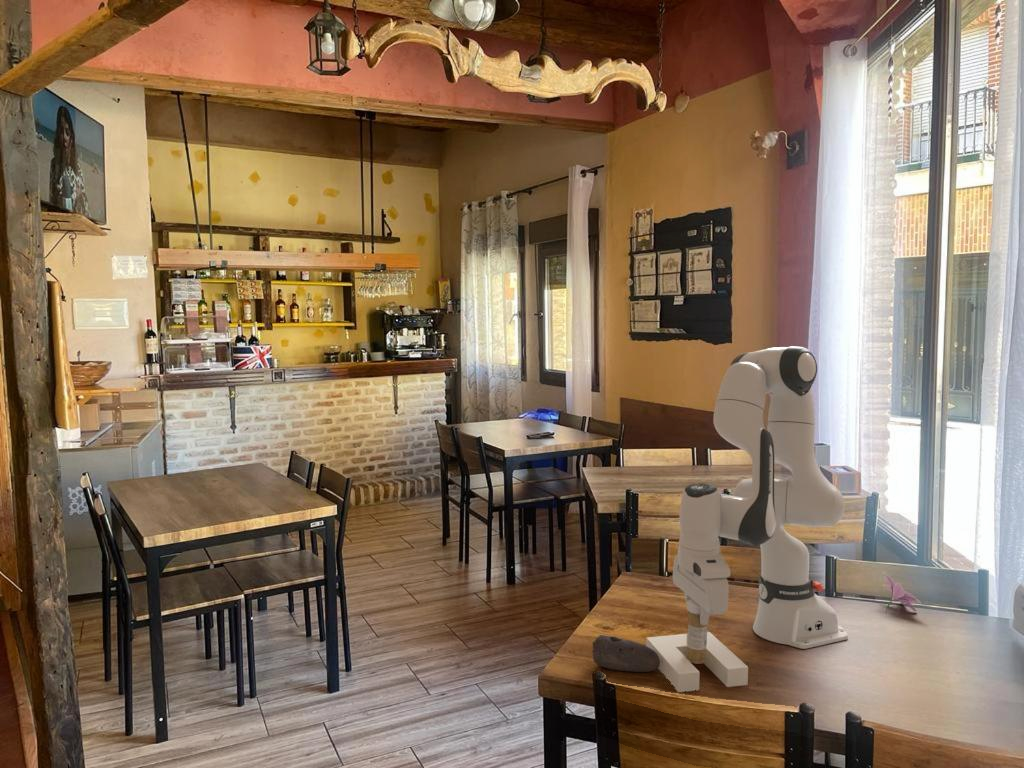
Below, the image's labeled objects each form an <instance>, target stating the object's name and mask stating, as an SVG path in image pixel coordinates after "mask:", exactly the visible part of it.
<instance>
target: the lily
mask: <svg viewBox="0 0 1024 768" xmlns="http://www.w3.org/2000/svg"><path fill="white" fill-rule="evenodd" d="M882 573H883V575H884V576H885V578H886V580H887V581H888V584H886V583H884V584H882V586H883V587H884V588H886V589H887V590H889V591H890V592H891V595H892V599H891V600H890V601H889V603H888V604H887V606H886V609H885V610H887V611H888V609H889V606H890V605H891V604H892V602H893V601H895V600H896V601H899V602H900V605H907V606H908V607H909V608H910V609H911V610H913V611H914V612H915V611H916V612H917V610H916V608H915V606H914V605H913V604H922V602H921V601H920V600H919V599H918V598H917V597H916V596H915V595H913V594H912V593H910V592H908V591H906V590H905V589H904V588H903V587H904V586H903V585H902V584H901V583H900V582H896V581H895V580H894V579H893V578H892V577H891V576H890V575H889V574H887V573H886V572H885V571H883V570H882ZM916 612H915V613H916ZM917 613H918V612H917Z"/></svg>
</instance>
